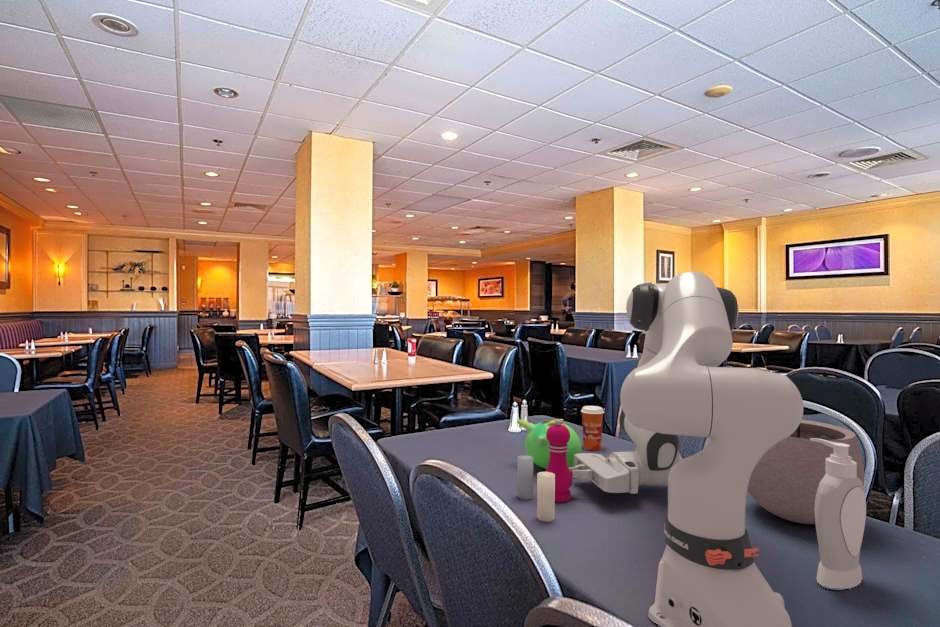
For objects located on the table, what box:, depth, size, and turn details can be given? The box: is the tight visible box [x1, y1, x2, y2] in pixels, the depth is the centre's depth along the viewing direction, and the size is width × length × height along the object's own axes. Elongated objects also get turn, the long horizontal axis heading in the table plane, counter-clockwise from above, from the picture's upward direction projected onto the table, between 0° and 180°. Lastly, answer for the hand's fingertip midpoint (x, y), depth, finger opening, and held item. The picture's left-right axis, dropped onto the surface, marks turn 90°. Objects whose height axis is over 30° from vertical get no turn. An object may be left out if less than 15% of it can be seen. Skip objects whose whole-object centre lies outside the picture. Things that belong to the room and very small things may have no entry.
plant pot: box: [747, 387, 865, 525], centre depth 113 cm, size 24×24×30 cm
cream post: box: [536, 471, 556, 523], centre depth 113 cm, size 4×4×10 cm
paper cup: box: [580, 405, 605, 451], centre depth 168 cm, size 8×8×14 cm
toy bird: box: [516, 418, 582, 470], centre depth 148 cm, size 18×17×15 cm
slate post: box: [516, 454, 534, 501], centre depth 126 cm, size 4×4×10 cm
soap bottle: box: [810, 438, 867, 588], centre depth 88 cm, size 13×8×24 cm, turn 115°
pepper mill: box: [544, 418, 573, 503], centre depth 125 cm, size 7×7×20 cm
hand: (570, 472), depth 126 cm, fingers closed
